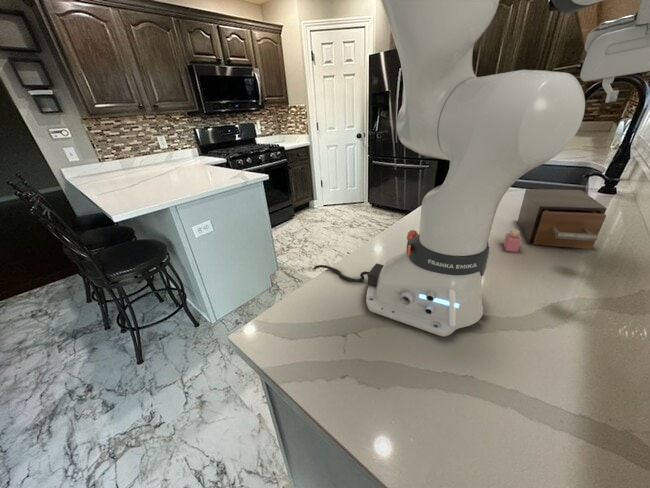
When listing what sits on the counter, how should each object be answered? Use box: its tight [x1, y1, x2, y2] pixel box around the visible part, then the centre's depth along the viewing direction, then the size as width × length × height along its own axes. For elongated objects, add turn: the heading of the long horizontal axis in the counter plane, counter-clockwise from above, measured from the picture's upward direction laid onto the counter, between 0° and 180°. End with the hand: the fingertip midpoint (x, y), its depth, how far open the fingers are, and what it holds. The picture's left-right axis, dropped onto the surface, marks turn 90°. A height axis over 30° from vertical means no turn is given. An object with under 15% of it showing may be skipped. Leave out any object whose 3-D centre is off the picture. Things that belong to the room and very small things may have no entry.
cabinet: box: [516, 188, 607, 245], centre depth 71 cm, size 15×13×11 cm
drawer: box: [533, 209, 607, 250], centre depth 67 cm, size 18×11×9 cm, turn 157°
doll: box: [503, 228, 522, 253], centre depth 67 cm, size 3×4×6 cm
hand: (647, 97), depth 49 cm, fingers open, 8 cm apart
